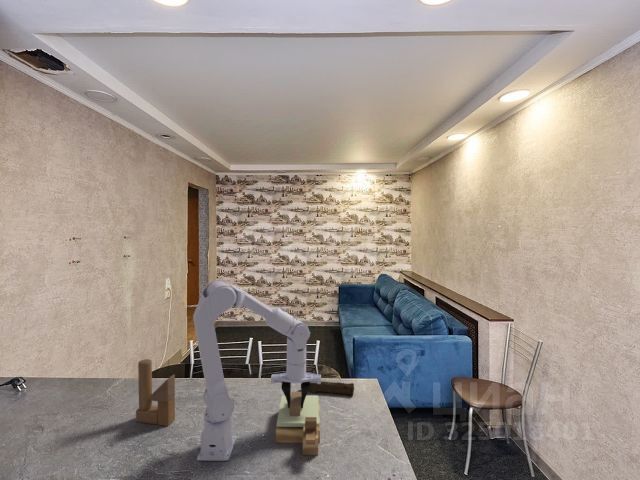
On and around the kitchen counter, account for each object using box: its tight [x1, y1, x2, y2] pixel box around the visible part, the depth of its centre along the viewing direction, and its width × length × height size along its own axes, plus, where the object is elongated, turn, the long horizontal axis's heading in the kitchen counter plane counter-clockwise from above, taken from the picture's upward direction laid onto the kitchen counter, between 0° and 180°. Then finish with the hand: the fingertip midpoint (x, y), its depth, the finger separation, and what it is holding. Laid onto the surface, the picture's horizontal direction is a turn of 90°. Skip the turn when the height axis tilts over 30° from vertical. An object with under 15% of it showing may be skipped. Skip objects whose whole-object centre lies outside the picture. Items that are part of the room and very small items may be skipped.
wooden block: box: [135, 358, 176, 427], centre depth 104 cm, size 4×11×18 cm, turn 79°
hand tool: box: [300, 380, 355, 397], centre depth 124 cm, size 19×4×5 cm, turn 79°
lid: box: [276, 391, 320, 427], centre depth 103 cm, size 15×12×4 cm
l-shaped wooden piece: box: [305, 417, 317, 445], centre depth 90 cm, size 6×3×4 cm, turn 1°
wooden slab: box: [275, 411, 321, 456], centre depth 100 cm, size 21×12×4 cm, turn 1°
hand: (295, 406), depth 103 cm, fingers closed on lid, 3 cm apart
